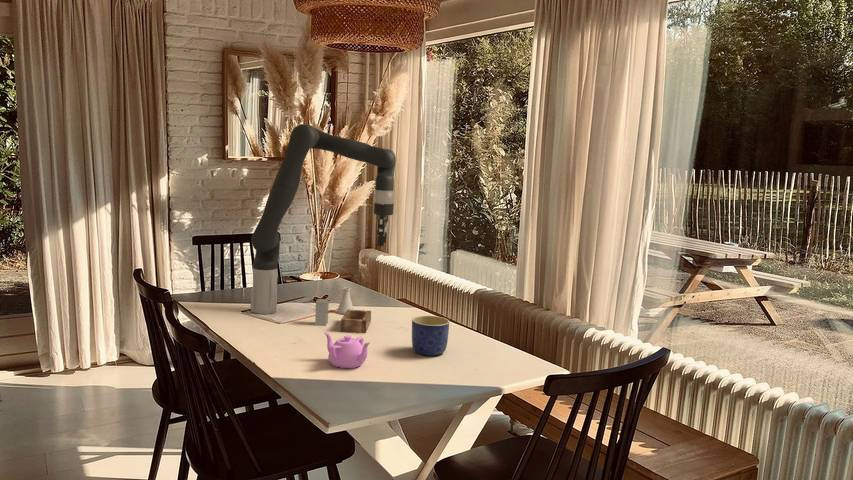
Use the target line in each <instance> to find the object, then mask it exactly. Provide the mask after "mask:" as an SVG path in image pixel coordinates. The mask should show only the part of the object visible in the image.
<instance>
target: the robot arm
mask: <svg viewBox="0 0 853 480" xmlns="http://www.w3.org/2000/svg"><path fill="white" fill-rule="evenodd" d="M288 140H289V141H288V144H287V147H286V152H285V154H284V158H283V160H282V162H281V164H280V166H279V168H278V171H277V173H276V175H275V178H274V180H273V183H272V186H271V187H270V191H269V195H268V196H267V200H266V203H265V206H264V210H263V213H262V215H261V217H260V219H259V221H258V223H257V225H256V228H255V229H254V231H253V233H252V236H251V245H252V247H253V249H254V250H255V255H254V256H255V257H254V258H253V262H252V287H251V289H250V313H254V314H261V315H271V314H274V313H277V310H278V309H277V306H278V304H277V303H278V299H277V298H278V267H279V266H278V265H279V261H280V247H281V242H280V241H281V240H280V239H281V238H280V233H279V232H278V230H279V228H280V225H281V222H282V220H283V218H284V216H285V215H286V213H287V212H288V210H289V209H290V207H291V205H292V203H293V201H294V199H295V197H296V194H297V191H298V189H299V186H300V184H301V183H300V182H301V177H302V170H303V165H304V163H305V159H306V158H307V156H308V154H309V152H310V149H312V150H314V149H315V150H323V151H327V152H331V153H333V154H336V155H339V156H341V157H345V158H347V159H351V160H354V161H358V162H362V163H367V164H370V165H372V166H375V167H377V171H376V172H377V173H376V177H375V187H374V189H375V190H374V194H373V214H374V215H377V216H378V217H379V218H378V219H377V223H376V225H377V228H376V229H377V233H376V235H377V246H378V247H384V246H385V243H387V233H388V230H389V216H392V215H394V208H395V207H394V205H395V193H394V191H395V190H394V189H395V177H394V176H395V172H396V163H397V160H396V156H397V155H396V154H395V152H394V151H393V150H392V149H389V148H382V147H377V146H375V145H373V146H372V145H370V144H369V143H366V142H362V141H358V140H354V139H351V138H347V137H341V136H337V135H334V134H330V133H328V132H324V131H322V130H319V129H318V128H315V127H314V126H312V125H311V124H307V123H306V124H305V123H302V124H297V125H296V126H294V128H293V129H292V130H291V133H290V137H289V139H288Z"/></svg>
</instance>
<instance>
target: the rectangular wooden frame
mask: <svg viewBox="0 0 853 480" xmlns="http://www.w3.org/2000/svg"><path fill="white" fill-rule="evenodd" d="M371 323H372V310H365V309H364V310H363V309H360V310H359V309H354V310H347V311H346V313H345V314H343V316H342V317H341V318H340V332H341V333H353V332H355V333H356V334H366V333H367V332H368V329H369V327H370V325H371Z"/></svg>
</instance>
